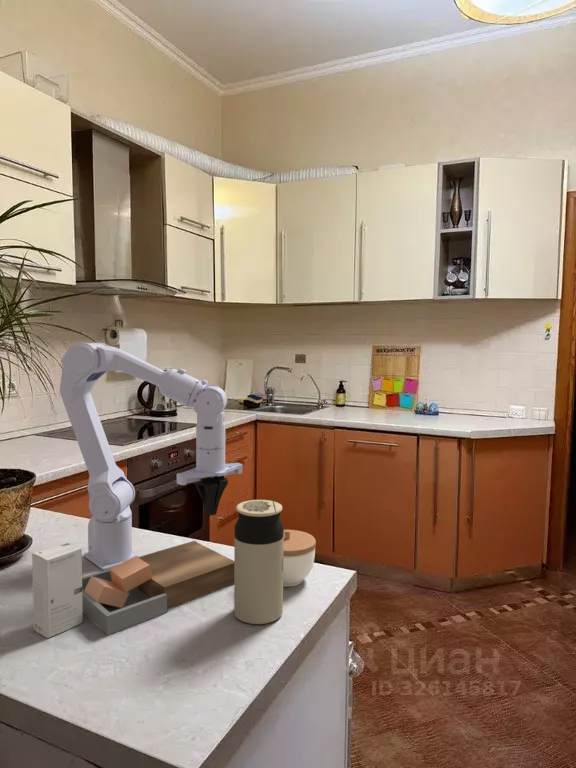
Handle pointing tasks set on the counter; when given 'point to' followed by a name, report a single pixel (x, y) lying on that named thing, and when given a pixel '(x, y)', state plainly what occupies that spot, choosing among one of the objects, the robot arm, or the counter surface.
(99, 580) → the tile front
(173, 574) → the dark wood platform
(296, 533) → the lidded jar
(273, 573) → the travel mug
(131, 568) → the tile rear
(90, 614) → the tray
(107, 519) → the robot arm
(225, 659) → the counter surface
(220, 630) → the counter surface
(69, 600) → the skincare box
